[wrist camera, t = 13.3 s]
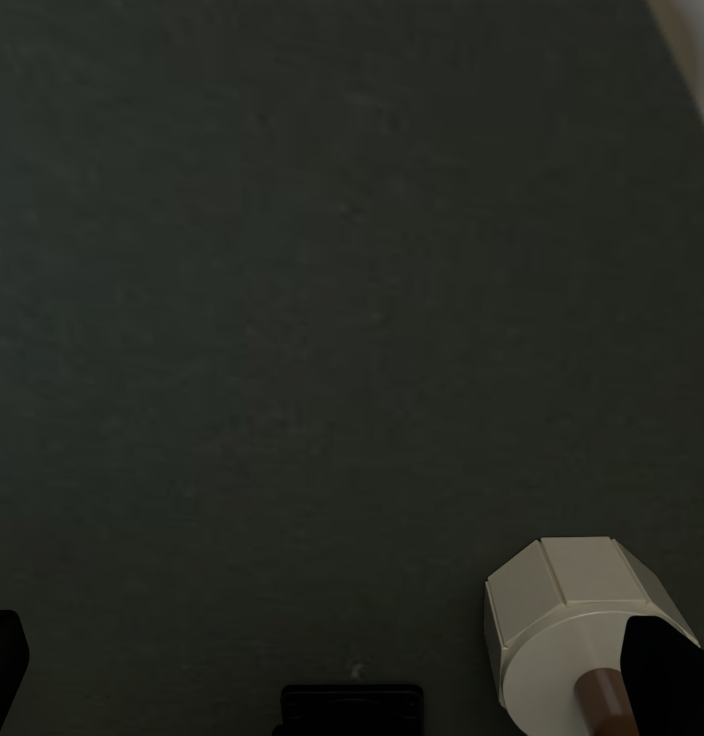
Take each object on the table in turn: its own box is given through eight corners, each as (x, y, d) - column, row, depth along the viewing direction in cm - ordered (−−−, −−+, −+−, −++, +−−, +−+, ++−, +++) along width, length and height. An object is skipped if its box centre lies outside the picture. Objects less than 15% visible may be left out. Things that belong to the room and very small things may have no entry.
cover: (664, 534, 23) (814, 740, 15) (642, 666, 26) (761, 901, 18) (486, 538, 23) (541, 739, 16) (481, 667, 26) (527, 897, 18)
